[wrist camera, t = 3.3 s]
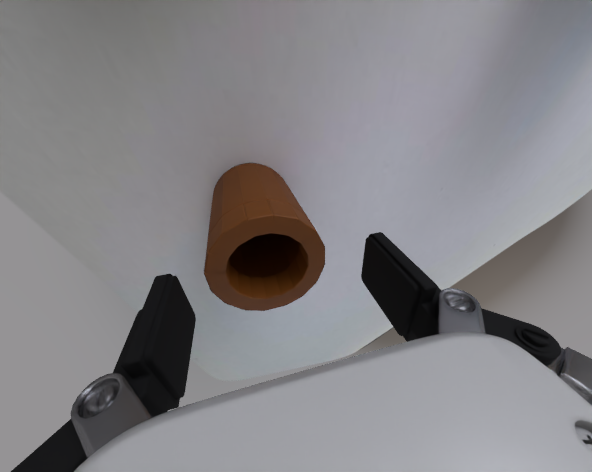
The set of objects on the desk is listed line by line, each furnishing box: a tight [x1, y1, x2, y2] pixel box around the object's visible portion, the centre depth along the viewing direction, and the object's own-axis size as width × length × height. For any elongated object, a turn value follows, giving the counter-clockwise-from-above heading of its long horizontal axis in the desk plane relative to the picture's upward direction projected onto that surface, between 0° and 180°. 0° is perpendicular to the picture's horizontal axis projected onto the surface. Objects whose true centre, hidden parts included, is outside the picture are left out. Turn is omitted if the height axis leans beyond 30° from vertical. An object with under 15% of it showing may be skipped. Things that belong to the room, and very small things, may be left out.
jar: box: [204, 163, 325, 311], centre depth 16 cm, size 6×6×9 cm
